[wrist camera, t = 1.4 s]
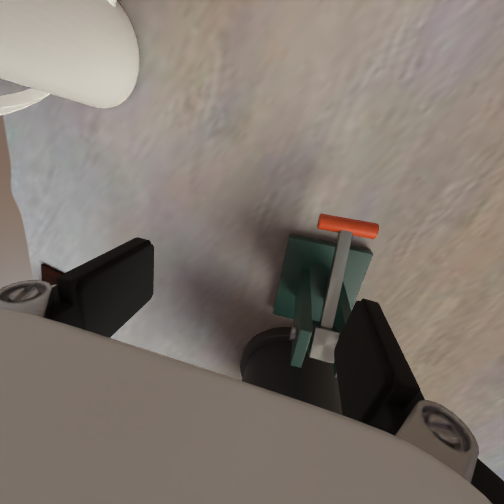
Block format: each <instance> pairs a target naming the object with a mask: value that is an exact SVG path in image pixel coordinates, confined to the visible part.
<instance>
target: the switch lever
mask: <svg viewBox="0 0 504 504" xmlns="http://www.w3.org/2000/svg"><path fill="white" fill-rule="evenodd" d="M317 228H318V229H322V230H328V231H333V232H338V236H337V241H336V246H335V250H334V255H333V260H332V265H331V269H330V274H329V279H328V283H327V288H326V293H325V297H324V302H323V307H322V311H321V316H320V321H319V322H318V321H314V320H312V334H311V338H310V341H309V344H308V347H307V350H308V354H309V357H310V358H314V359H318V360H322V361H326V362H329V363H334V349H335V346H336V344H337V342H338V339H339V336H340V333H339V331H338V330H337V329H336V327H335V326H334V325H333V324H334V319H335V314H336V310H337V305H338V300H339V296H340V291H341V287H342V282H343V277H344V273H345V268H346V263H347V259H348V254H349V249H350V245H351V240H352V235H354V236H359V237H365V238H370V239H375V238H376V236H377V234H378V231H379V225H378V224H376V223H371V222H365V221H360V220H354V219H348V218H343V217H337V216H332V215H326V214H320V216H319V220H318V224H317Z"/></svg>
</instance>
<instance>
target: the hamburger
mask: <svg viewBox="0 0 504 504" xmlns="http://www.w3.org/2000/svg"><path fill="white" fill-rule="evenodd" d="M41 272H42V281H45V282H48V283H49V284H50V285H51V286H52V287H54V286H56V285H57V283H56V277H58V276H60V275H62V274H64V273H62V272H60V271H58V270H56V269H54V268H52V267H50V266H48V265H46V264H42V265H41Z"/></svg>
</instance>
